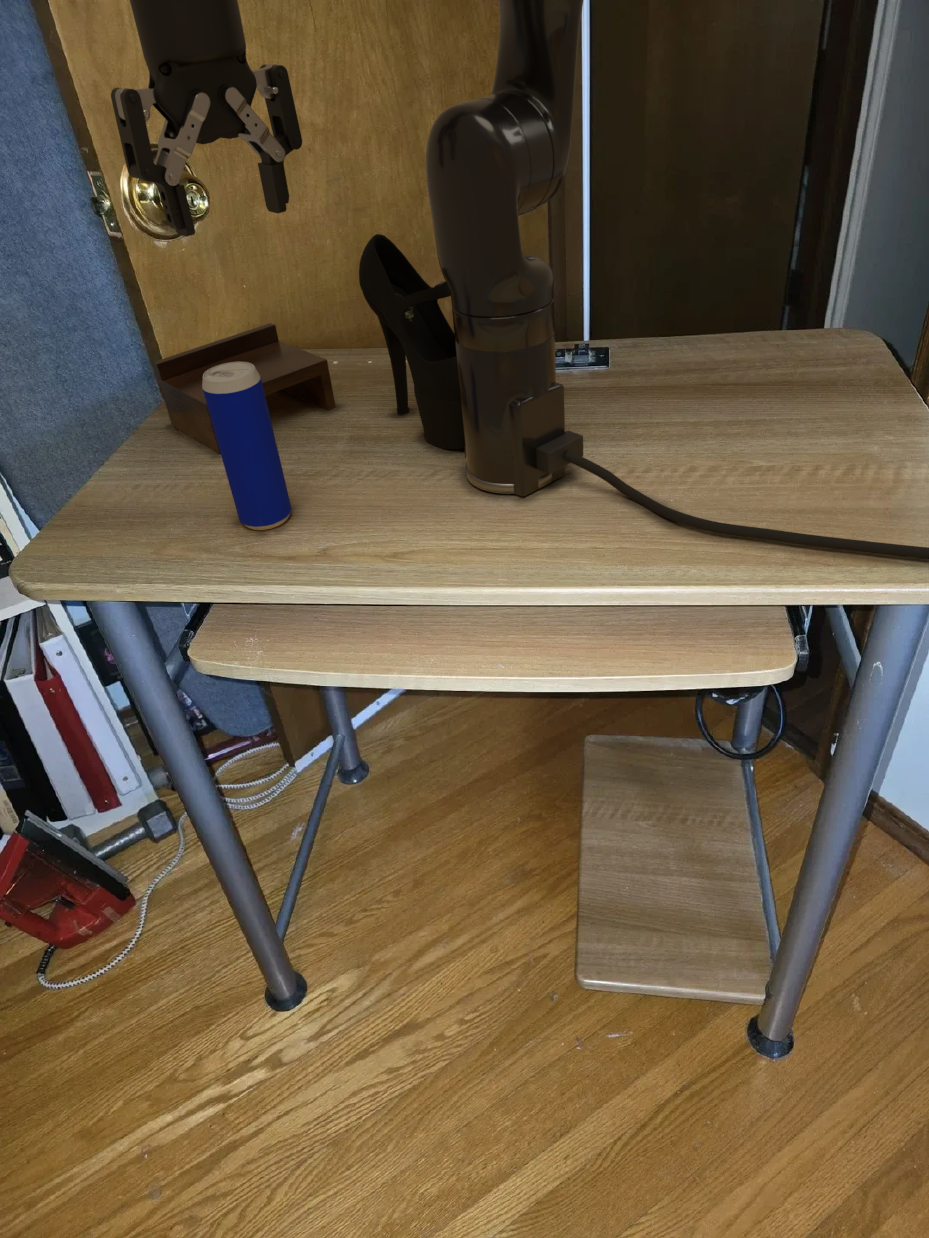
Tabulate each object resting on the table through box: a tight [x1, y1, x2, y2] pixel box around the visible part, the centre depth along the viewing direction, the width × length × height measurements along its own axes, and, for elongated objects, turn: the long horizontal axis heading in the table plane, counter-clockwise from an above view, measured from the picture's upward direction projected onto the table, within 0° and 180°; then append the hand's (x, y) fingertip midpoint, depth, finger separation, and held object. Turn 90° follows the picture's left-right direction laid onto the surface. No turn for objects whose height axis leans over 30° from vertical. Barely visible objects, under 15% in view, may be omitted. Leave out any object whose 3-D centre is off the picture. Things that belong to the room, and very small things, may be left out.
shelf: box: [152, 322, 337, 455], centre depth 105 cm, size 12×16×8 cm
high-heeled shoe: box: [358, 233, 465, 450], centre depth 94 cm, size 8×19×20 cm, turn 39°
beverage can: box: [202, 362, 292, 531], centre depth 82 cm, size 5×5×15 cm
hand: (233, 222), depth 73 cm, fingers open, 8 cm apart
